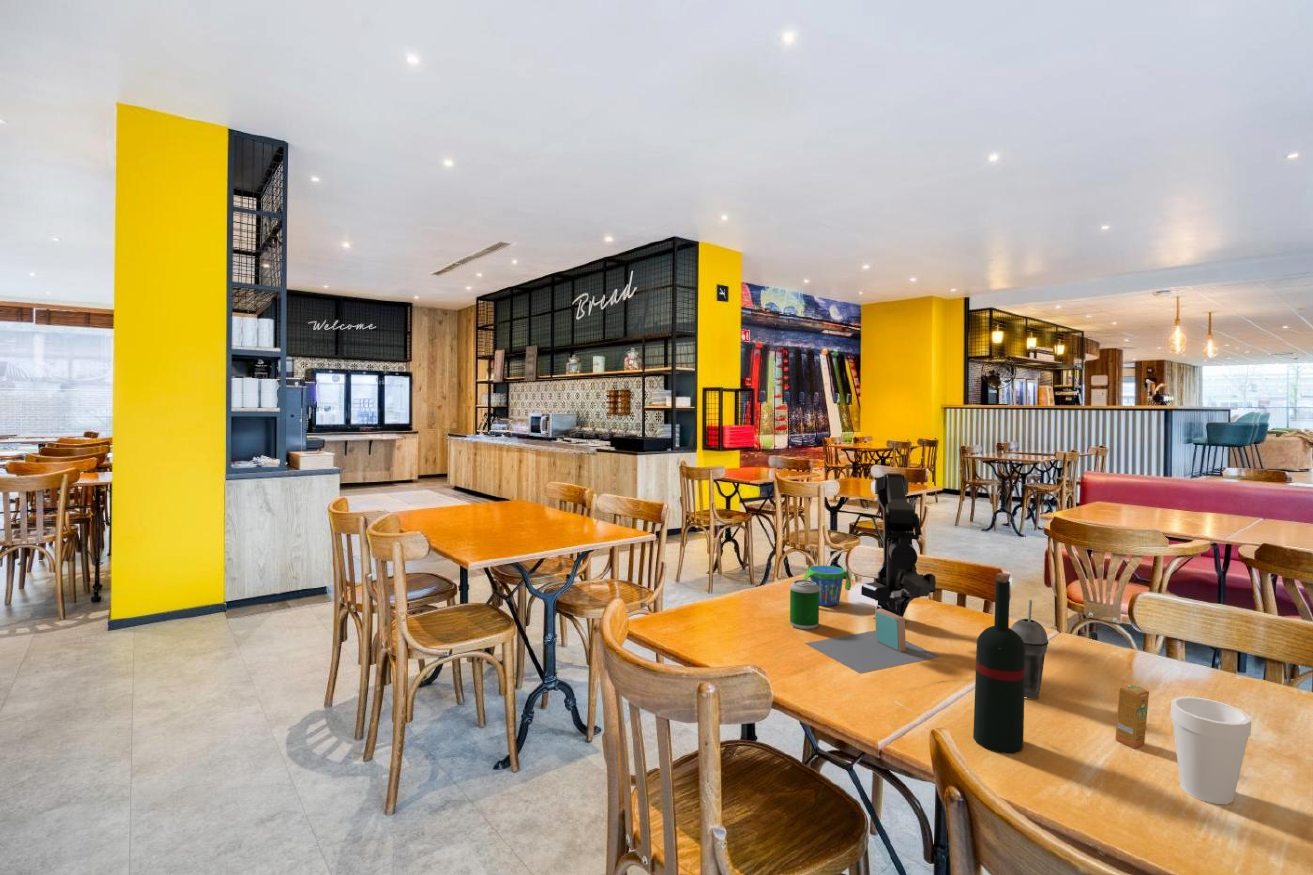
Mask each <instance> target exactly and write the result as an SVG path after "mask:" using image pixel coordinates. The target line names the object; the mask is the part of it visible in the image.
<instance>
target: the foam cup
mask: <svg viewBox="0 0 1313 875" xmlns="http://www.w3.org/2000/svg"><path fill="white" fill-rule="evenodd" d="M1170 702H1171V703H1170V718H1171V720H1172V723H1173V732H1174V741H1175V742H1174V743H1175V749H1176V750H1175V752H1176V758H1177V767H1178V777H1179V778H1178V779H1179V783H1180V788H1181V789H1182V791H1184V792H1185V793H1186V794H1188V795H1189V794H1190V795H1189V796H1191V795H1192V796H1191V797H1193V798H1195V799H1196V800H1200V801H1202V800H1203V802H1205V801H1206V802H1205V803H1209V804H1213V805H1219V804H1223V805H1230V804H1232V803H1233V802H1234V798H1235V796H1236V792H1237V791H1236V790H1237V787H1238V784H1239V783H1238V782H1239V779H1240V774H1241V770H1242V766H1243V762H1244V759H1245V758H1244V757H1245V753H1246V748H1247V744H1248V740H1249V738H1250V737H1251V732H1252V719H1251V717H1250V715H1249V714H1248V713H1246V712H1244V711H1243V710H1242V709H1240V708H1237V707H1235V706H1232V705H1229V704H1227V703H1225V702H1221V701H1217V700H1213V699H1209V698H1203V697H1196V696H1176V697H1174V698H1173V699H1171V701H1170ZM1232 801H1233V802H1232ZM1231 802H1232V803H1231ZM1229 803H1230V804H1229Z"/></svg>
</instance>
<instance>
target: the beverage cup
mask: <svg viewBox="0 0 1313 875" xmlns="http://www.w3.org/2000/svg"><path fill="white" fill-rule="evenodd" d="M1032 607H1033V600H1032V599H1029V600H1028V611H1027V612H1028V614H1027V618H1022V619H1018V620H1017V621H1015V622H1014V623H1013V624H1012V625H1011V626H1010V627H1009V628H1010V629H1012V630H1013V631H1015V632H1016V633H1017V634H1018V635H1019V636H1020V637H1021V638H1022V640H1023V641H1024V644H1025V646H1026V651H1025V692H1024V697H1027V698H1037V697H1039V698H1040V691H1041V686H1042V679H1043V672H1044V665H1045V664H1044V663H1045V656H1046V653H1047V649H1048V645H1049V644H1050V643H1049V640H1048V633H1047V632H1046V629H1045V628H1044V626H1043V625H1041V623H1039V622H1038V621H1037V620H1034V619H1032V609H1033V608H1032ZM1037 699H1038V698H1037Z"/></svg>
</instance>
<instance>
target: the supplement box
mask: <svg viewBox="0 0 1313 875" xmlns="http://www.w3.org/2000/svg"><path fill="white" fill-rule="evenodd" d="M1118 691H1119V692H1118V701H1117V711H1116V712H1117V713H1116V714H1117V715H1116V727H1115V740H1116V741H1117V742H1118V743H1121V744H1122V745H1124V746H1127V747H1129V748H1131V749H1136V748H1140V747H1142V746H1145V742H1146V741H1145V740H1146V728H1147V722H1148V721H1147V718H1148V710H1149V709H1148V708H1149V699H1150V691H1149V690H1147V689H1146V688H1144V687H1141V686H1138V685H1136V684H1133V683H1129V684H1128V685H1121V686H1119V690H1118Z"/></svg>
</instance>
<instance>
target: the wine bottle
mask: <svg viewBox="0 0 1313 875" xmlns="http://www.w3.org/2000/svg"><path fill="white" fill-rule="evenodd" d="M995 577H996V578H995V579H996V580H995V591H994V592H995V595H994V597H995V598H994V625H993V626H992V625H991V626H989V627H986V628H984V630H982V632H980V634H979V635H978V637H977V639H976V653H975V654H976V655H975V658H976V659H975V681H974V684H975V685H974V687H975V688H974V708H973V709H974V710H973V735H972V738H973V740H974V741H975V742H976V744H977V745H979V746H980V747H982V748H984V749H986V750H988V751H992V752H996V753H999V754H1009V755H1010V754H1011V755H1012V754H1013V755H1014V754H1018V753H1020V752H1022V750H1023V748H1024V726H1025V724H1024V722H1025V698H1024V692H1025V651H1026V646H1025V644H1024V641H1023V640H1022V638H1021V637H1020V636H1019V635H1018V634H1017V633H1016V632H1015V631H1013V630H1012V629H1010V628H1011V627H1009V624H1010V620H1009V619H1010V591H1011V590H1010V589H1011V581H1010V578H1011V575H1010V574H1008V573H1003V572H999V573H995Z"/></svg>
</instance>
